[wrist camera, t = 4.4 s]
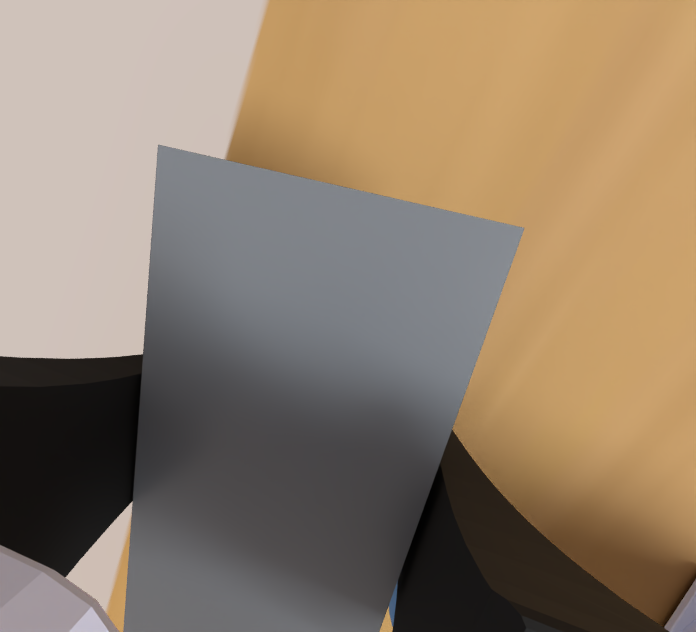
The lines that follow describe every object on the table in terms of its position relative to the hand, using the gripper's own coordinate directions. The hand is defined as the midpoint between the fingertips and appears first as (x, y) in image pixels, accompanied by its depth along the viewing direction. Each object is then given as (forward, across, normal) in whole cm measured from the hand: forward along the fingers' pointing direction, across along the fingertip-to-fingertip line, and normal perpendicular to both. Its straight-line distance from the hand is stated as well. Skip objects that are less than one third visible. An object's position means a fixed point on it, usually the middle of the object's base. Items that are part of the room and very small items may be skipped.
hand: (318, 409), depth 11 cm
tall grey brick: (+2, 0, 0) cm, 2 cm away
